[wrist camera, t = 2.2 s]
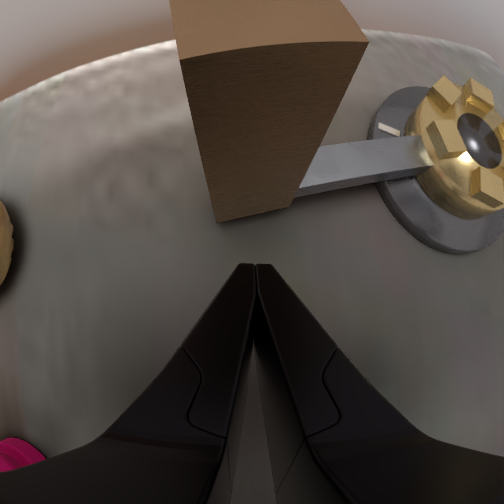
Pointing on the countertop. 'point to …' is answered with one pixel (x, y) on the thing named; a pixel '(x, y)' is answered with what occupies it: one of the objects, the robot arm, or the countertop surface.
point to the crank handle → (318, 112)
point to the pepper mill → (17, 454)
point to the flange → (417, 200)
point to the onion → (5, 242)
